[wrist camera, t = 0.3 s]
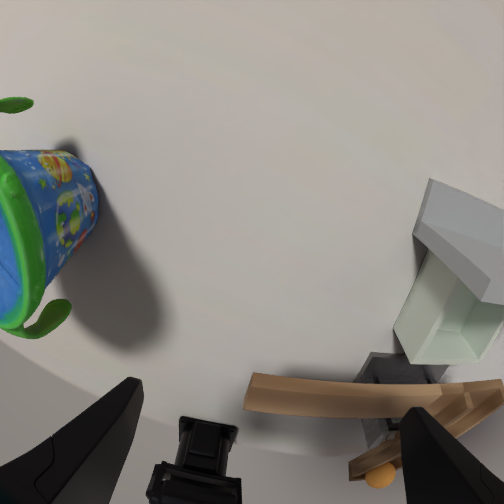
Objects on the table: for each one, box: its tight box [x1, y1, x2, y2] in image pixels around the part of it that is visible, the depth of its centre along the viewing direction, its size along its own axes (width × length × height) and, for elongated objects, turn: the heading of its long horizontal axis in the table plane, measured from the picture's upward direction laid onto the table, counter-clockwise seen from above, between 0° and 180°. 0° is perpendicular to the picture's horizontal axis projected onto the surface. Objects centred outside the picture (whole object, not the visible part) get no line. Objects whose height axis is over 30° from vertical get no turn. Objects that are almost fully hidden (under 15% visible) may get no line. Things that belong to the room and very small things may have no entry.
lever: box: [243, 372, 504, 481], centre depth 19 cm, size 18×19×3 cm
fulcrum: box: [354, 352, 449, 449], centre depth 22 cm, size 8×10×7 cm
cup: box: [393, 248, 504, 365], centre depth 19 cm, size 8×8×4 cm
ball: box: [365, 462, 396, 488], centre depth 21 cm, size 3×3×3 cm
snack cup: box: [0, 97, 99, 339], centre depth 15 cm, size 16×10×10 cm
